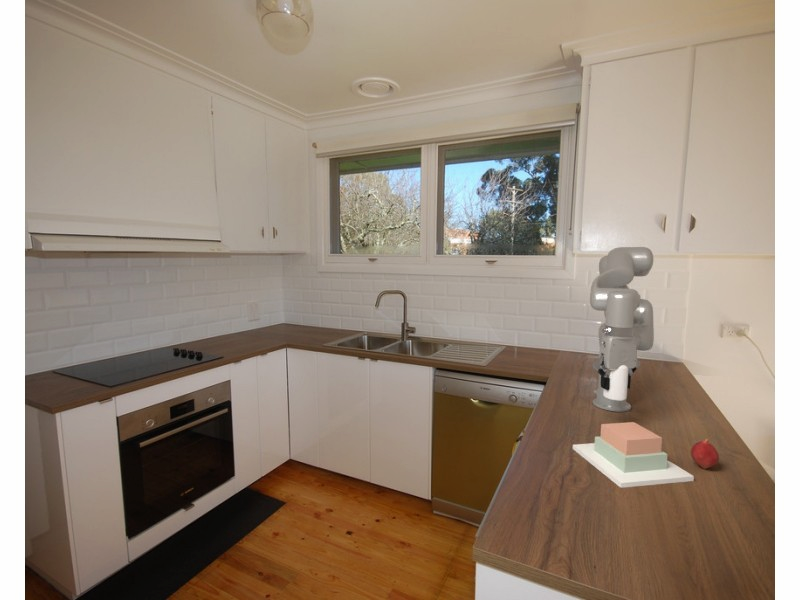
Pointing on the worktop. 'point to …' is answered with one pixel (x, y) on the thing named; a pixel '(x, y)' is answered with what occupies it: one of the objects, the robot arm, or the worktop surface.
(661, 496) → the worktop surface
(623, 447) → the tiered block pedestal
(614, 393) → the can
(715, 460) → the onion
